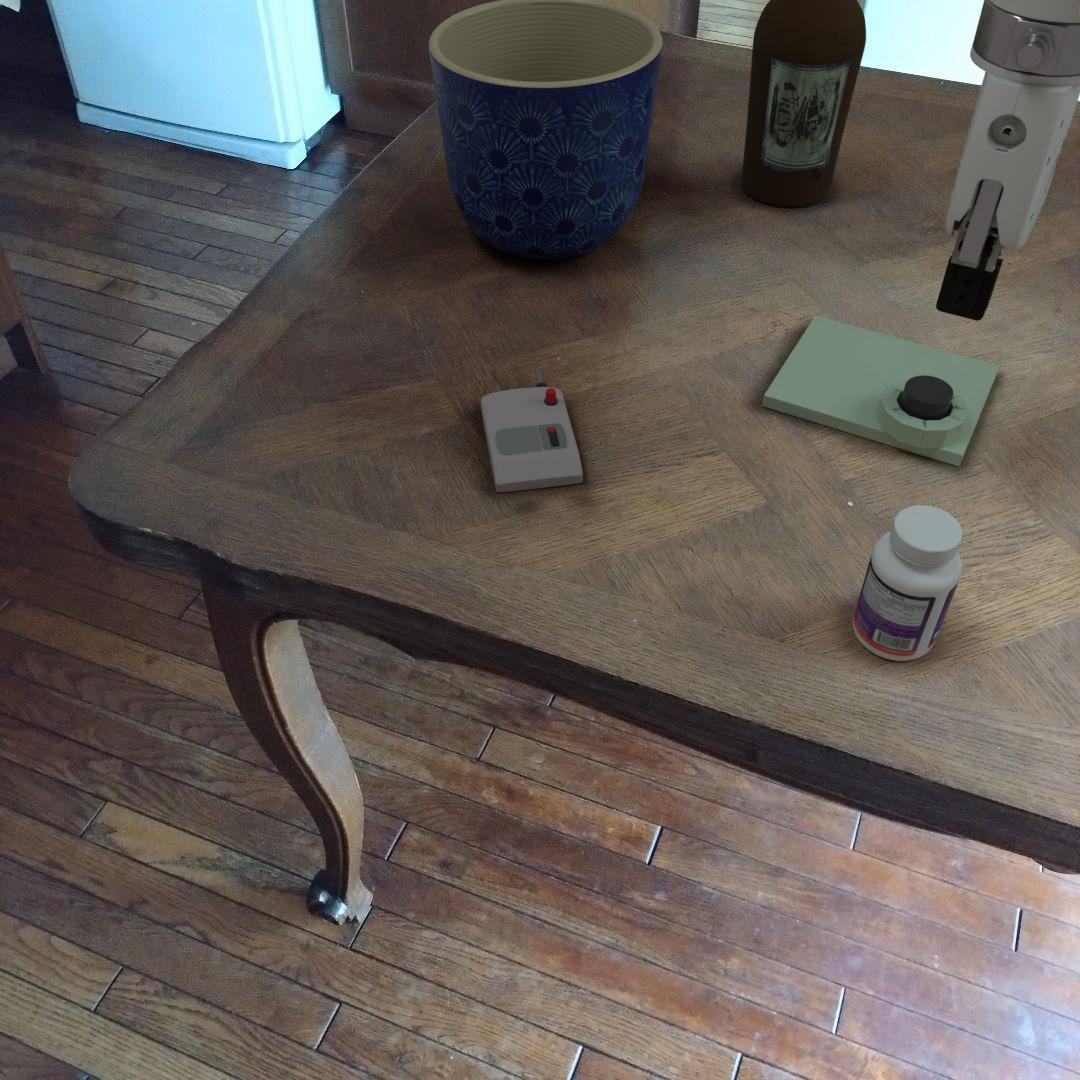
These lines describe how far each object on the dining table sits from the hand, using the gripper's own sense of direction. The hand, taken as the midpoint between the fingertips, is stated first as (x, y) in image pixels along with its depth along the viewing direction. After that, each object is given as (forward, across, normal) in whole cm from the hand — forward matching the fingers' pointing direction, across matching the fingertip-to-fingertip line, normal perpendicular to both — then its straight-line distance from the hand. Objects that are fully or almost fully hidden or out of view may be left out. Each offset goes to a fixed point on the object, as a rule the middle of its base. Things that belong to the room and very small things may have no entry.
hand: (960, 309), depth 74 cm
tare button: (+10, +2, +1) cm, 11 cm away
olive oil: (+13, +36, +24) cm, 45 cm away
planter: (+13, +16, +42) cm, 46 cm away
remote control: (+13, -13, +28) cm, 33 cm away
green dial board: (+13, +6, +5) cm, 15 cm away
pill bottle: (+13, -19, -3) cm, 23 cm away
